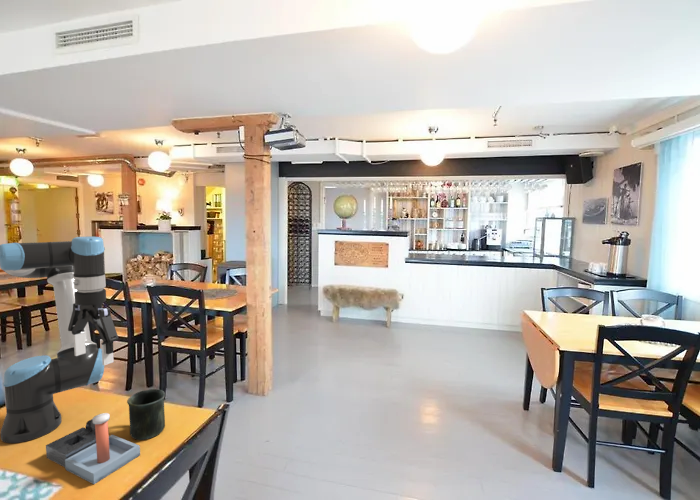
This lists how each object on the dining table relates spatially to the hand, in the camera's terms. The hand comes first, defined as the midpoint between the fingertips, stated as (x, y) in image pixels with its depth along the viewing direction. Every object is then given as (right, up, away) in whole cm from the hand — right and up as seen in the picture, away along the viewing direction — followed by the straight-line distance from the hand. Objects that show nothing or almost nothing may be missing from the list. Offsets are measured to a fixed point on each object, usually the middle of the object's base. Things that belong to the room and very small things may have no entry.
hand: (93, 359), depth 108 cm
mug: (+9, -28, +13) cm, 32 cm away
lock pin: (+5, -28, -4) cm, 29 cm away
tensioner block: (-6, -28, 0) cm, 29 cm away
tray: (+6, -29, -4) cm, 30 cm away
